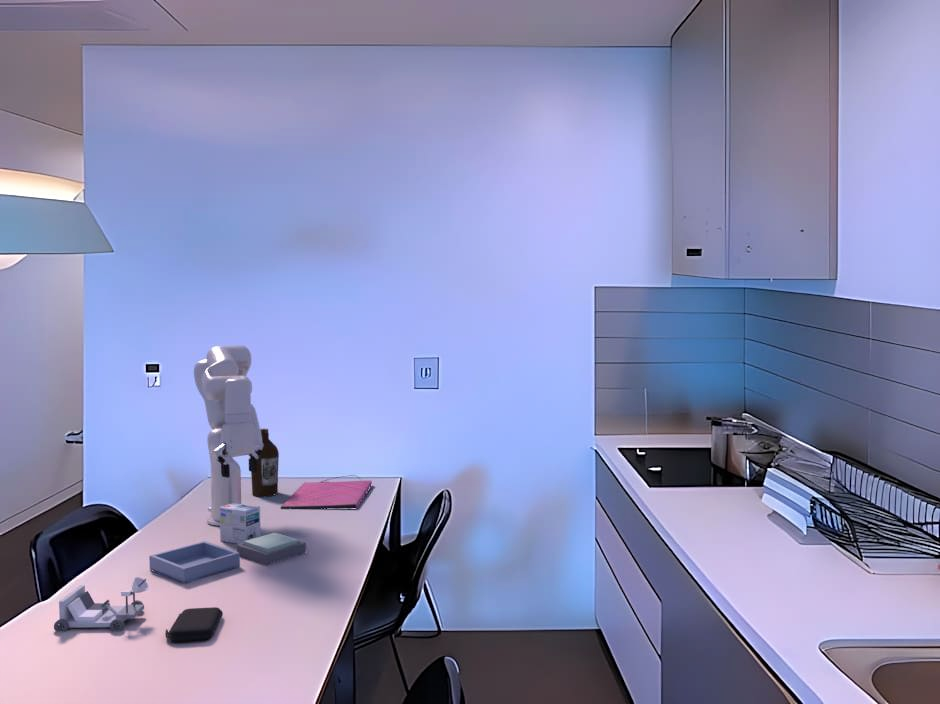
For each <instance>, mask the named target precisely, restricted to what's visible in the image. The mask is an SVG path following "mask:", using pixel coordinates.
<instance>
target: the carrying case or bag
mask: <svg viewBox="0 0 940 704" xmlns="http://www.w3.org/2000/svg"><path fill="white" fill-rule="evenodd" d="M223 613H224V612H223V611H222V610H221V609H220V608H219V607H215V606H213V607H212V606H211V607H196V608H185V609H183V611H182V612H180V613H179V614H178V616H177V618H176V619H175V621H174V622H173V624H172V625H171V627H170V629H169V630H168V628H167V629H165V633H164V634H165V638H166V639H168V640H169V641H170V642H171V643H173V644H183V643H202V642H208V641H210V640H211V639H212V638H213V637H214V636H215V633H216V631H217V629H218V627H219V624H220V623H221V620H222V618H223V615H224V614H223Z"/></svg>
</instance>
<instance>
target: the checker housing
mask: <svg viewBox="0 0 940 704" xmlns="http://www.w3.org/2000/svg"><path fill="white" fill-rule="evenodd" d="M298 543H299V544H295V545H292V546H289V547H285V548H282V549H279V550H275V551H272V552H269V553H266V552H262V551H259V550H256V549H253V548H250V547H247V546H244V543H241V544H235V545H236V546H235V547H236V548H235V549H236V552H239V553H240V557H241V556H242V557H241V558H245V559H247V558H248V559H247V560H250V561H253V562H257V563H259V564H262V565H265V566H268V565H271V563H272V564H275V563H278V562H281V561H284V560H287V559H290V558H289V557H291V558H294V557H297V556H300V555H303V554H306V553H307V543H306V542H305V541H302V540H299V539H298ZM305 552H306V553H305ZM299 554H300V555H299ZM296 555H297V556H296ZM293 556H294V557H293ZM280 560H281V561H280ZM277 561H278V562H277ZM274 562H275V563H274Z"/></svg>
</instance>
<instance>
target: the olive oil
mask: <svg viewBox="0 0 940 704" xmlns="http://www.w3.org/2000/svg"><path fill="white" fill-rule="evenodd" d="M260 431H261V435H262V443H263V444H264V446H263V448H262V450H261V451H262V452H261V453H260V455H259V458H258V459H257V472H251V471H250V473H251V474H250V476H251V492H252V495H253V496H254V497H259V498H260V497H261V498H262V497H264V496H266V497H271V496H270V495H273V496H275V495H274V494H276V495H278V493H279V490H278V489H279V486H278V483H279V457H280V456H279V455H280V454H279V450H278V447H277V446H276V444H274V443H273V442H272V441H271V440H270V437H269V435H270V434H269V433H270V432H269V428H260ZM264 498H265V497H264Z"/></svg>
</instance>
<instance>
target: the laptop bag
mask: <svg viewBox="0 0 940 704" xmlns="http://www.w3.org/2000/svg"><path fill="white" fill-rule="evenodd" d="M351 476H352V477H353V476H354V477H357V478H358V479H359V480H353V481H352V480H351V481H348V480H347V481H329V480H333V479H334V477H332V478H328V479H326V480H322V481H317V482H304V483H303V484H302V485H301V486H300V487H299V488H297V489H296V491H294V492H293V494H291V495H290V496H289V498H287V499H286V500H285V502H284V503H283V504H282V505H281V506H280V510H328V509H327V508H356V507H357V506H358V505H359V503H360V502H361V500H362V499H363V497H364V496H365V494H366V492H367V491H368V489H369V487H370V486H371V484H373V482H372V480H361V478H360V477H359V476H357V475H355V474H354V475H353V474H352V475H351V474H350V475H348V477H351ZM343 477H345V478H346V475H343V476H341V478H343ZM335 479H339V476H337V477H335ZM371 487H372V486H371ZM368 492H369V491H368ZM366 495H367V494H366ZM365 497H366V496H365ZM365 497H364V498H365ZM363 500H364V499H363ZM363 500H362V501H363ZM361 503H362V502H361ZM361 503H360V504H361ZM359 506H360V505H359ZM359 506H358V507H359ZM358 507H357V508H358ZM289 508H291V509H289ZM321 508H322V509H321ZM324 508H325V509H324Z"/></svg>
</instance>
